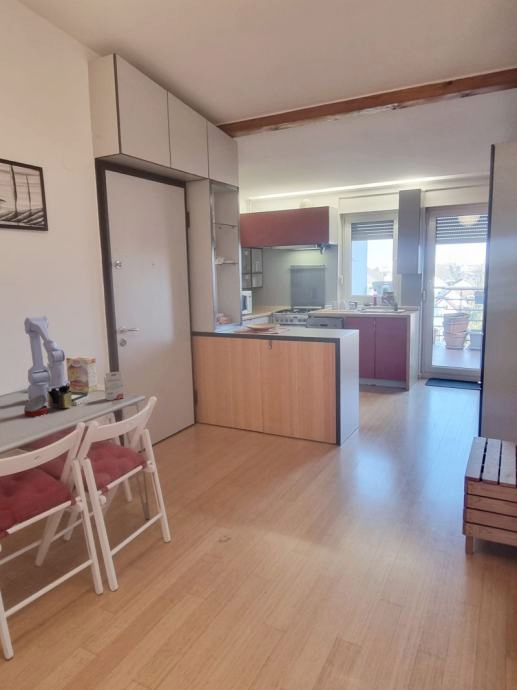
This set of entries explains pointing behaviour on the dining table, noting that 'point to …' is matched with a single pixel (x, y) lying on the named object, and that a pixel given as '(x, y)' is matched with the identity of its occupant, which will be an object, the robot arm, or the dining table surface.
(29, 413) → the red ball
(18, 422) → the dining table surface
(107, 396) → the ink cartridge box
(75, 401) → the stand
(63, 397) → the housing
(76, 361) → the coffeecake box
